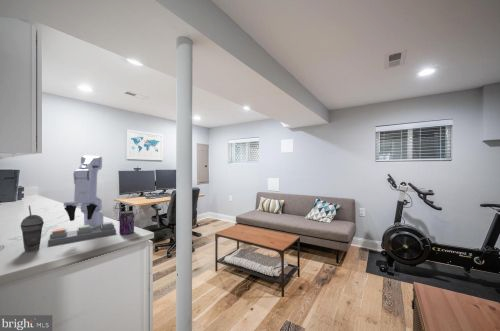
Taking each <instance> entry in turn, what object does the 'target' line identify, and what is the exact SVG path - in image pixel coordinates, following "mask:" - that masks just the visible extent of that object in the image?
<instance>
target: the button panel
mask: <svg viewBox="0 0 500 331" xmlns="http://www.w3.org/2000/svg"><path fill="white" fill-rule="evenodd" d="M116 234H117V229H116V227H115V224H114V222H112V225H108V226H102V224H100V226H98V227H95V228H92V226H90V228H88V229H82V230H79V227H77V229H76V230H70V231H68V228H66V229H65V232H62V233H55V234H53V231H50V234H49V237H48V239H47V246H48V247H49V246H53V245H54V246H55V245H60V244H66V243H71V242H77V241H81V240H88V239H89V240H90V239H92V238H94V239H95V238H98V237H99V238H100V237H104V236H106V237H107V236H110V235H116Z"/></svg>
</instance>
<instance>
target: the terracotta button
mask: <svg viewBox="0 0 500 331" xmlns="http://www.w3.org/2000/svg"><path fill="white" fill-rule="evenodd" d="M62 232H65V227H62V228H55V229H53V234H55V233H62Z"/></svg>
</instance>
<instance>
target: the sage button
mask: <svg viewBox="0 0 500 331" xmlns="http://www.w3.org/2000/svg"><path fill="white" fill-rule="evenodd" d="M78 228H79V230H82V229H88V228H90V225H84V224H83V225H79V226H78Z"/></svg>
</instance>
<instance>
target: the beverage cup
mask: <svg viewBox="0 0 500 331" xmlns="http://www.w3.org/2000/svg"><path fill="white" fill-rule="evenodd" d="M31 210H32V209H31V205H28V212H29V215H28V216H26V217H24V218H23V219H22V221H21V222H20V229H21V232H22V233H21V234H22V239H23V240H22V242H23V249H24V252H25V253H29V252H35V251H38V250H40V245H41V240H42V232H43V227H44V223H45V222H44V218H43V217H42V216H40V215H38V214H32V211H31Z"/></svg>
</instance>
